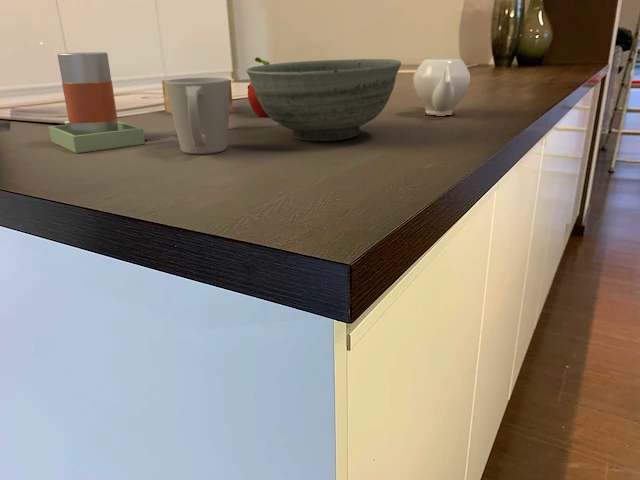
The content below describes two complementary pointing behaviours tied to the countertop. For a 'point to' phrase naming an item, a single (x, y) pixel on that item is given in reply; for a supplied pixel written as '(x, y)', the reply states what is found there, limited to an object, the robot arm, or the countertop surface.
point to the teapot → (441, 83)
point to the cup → (200, 113)
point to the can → (88, 92)
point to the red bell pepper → (253, 98)
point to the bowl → (324, 95)
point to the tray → (97, 138)
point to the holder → (167, 103)
